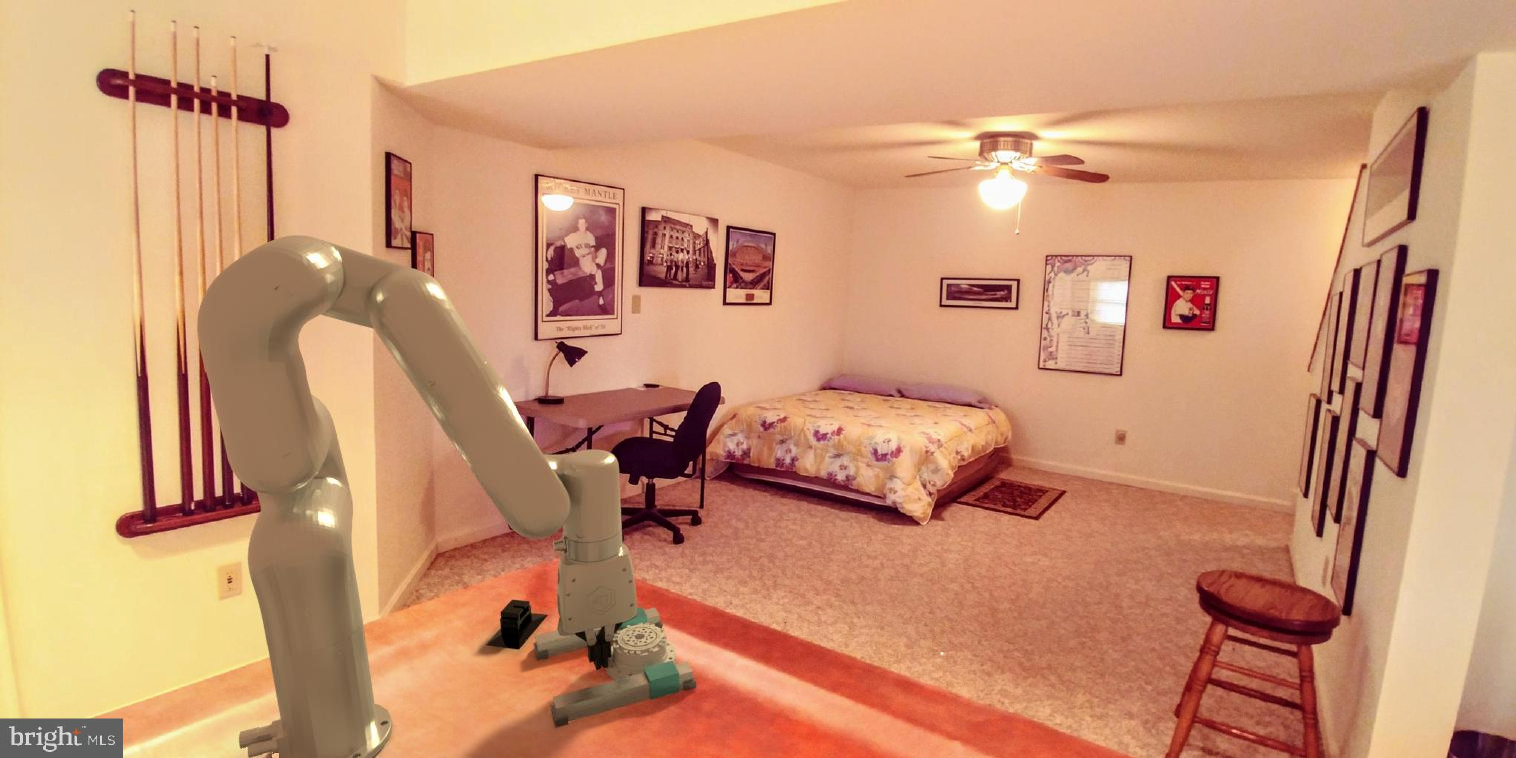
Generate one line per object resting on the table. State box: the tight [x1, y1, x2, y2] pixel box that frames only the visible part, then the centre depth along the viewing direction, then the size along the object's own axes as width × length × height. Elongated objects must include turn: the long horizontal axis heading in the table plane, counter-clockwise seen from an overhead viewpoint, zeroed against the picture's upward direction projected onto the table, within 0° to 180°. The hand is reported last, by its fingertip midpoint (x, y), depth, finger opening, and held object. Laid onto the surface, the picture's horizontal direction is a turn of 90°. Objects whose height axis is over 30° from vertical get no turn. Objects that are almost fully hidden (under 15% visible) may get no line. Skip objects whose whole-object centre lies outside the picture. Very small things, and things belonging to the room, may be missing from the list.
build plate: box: [485, 599, 549, 651], centre depth 112 cm, size 12×7×5 cm, turn 170°
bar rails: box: [532, 606, 697, 729], centre depth 103 cm, size 19×18×3 cm
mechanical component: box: [604, 623, 677, 681], centre depth 104 cm, size 10×4×10 cm
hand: (600, 663), depth 102 cm, fingers closed
